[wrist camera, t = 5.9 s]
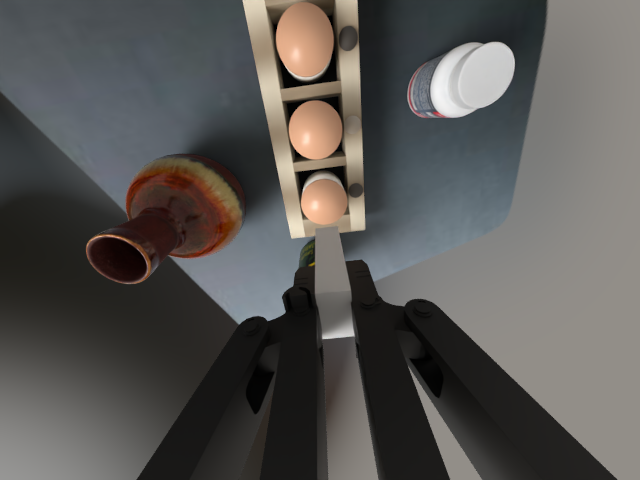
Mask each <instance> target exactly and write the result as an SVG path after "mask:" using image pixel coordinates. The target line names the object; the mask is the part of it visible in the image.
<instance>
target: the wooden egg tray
mask: <svg viewBox="0 0 640 480" xmlns="http://www.w3.org/2000/svg"><path fill="white" fill-rule="evenodd" d="M299 2H309V3H312V4H314V5H316V6H318V7H319V8H320V9H321V10H322V11H323V12H324V13H325V14H326V16H331V15H332V19H333V32H334V46H335V60H336V73H337V81H334V82H328V83H321V84H314V85H307V86H300V87H293V88H287V89H284V84H283V78H282V72H281V66H280V60H279V54H278V49H277V44H276V36H275V30H274V24H278V23H279V21H280V18H281V17H282V15H283V13H284V12H285V11H286V10H287V9H288V8H289V7H290V6H292V5H294V4H296V3H299ZM243 4H244V9H245V14H246V19H247V24H248V29H249V34H250V39H251V43H252V48H253V53H254V58H255V63H256V68H257V73H258V78H259V82H260V87H261V92H262V97H263V102H264V107H265V112H266V117H267V121H268V126H269V131H270V136H271V141H272V146H273V151H274V156H275V161H276V165H277V170H278V175H279V180H280V185H281V190H282V195H283V200H284V204H285V209H286V214H287V219H288V224H289V229H290V234H291V239H292V238H300V237H309V236H315V229H316V228H324V227H333V226H338V230H339V233H343V232H351V231H360V230H365V209H364V179H363V150H362V120H361V91H360V62H359V32H358V3H357V0H243ZM335 96H338V101H339V114H340V119H341V123H342V138H341V142H342V151H341V152H333V153H332V154H331V155H329V156H328V157H326V158H323V159H317V160H314V159H309V158H306V157H304V156H303V157H295V151H294V146H293V145H292V143H291V140H290V136H289V123H290V121H289V115H288V109H287V103H293V102H300V101H307V100H314V99H321V98H328V97H335ZM336 166H343V169H344V183H345V193H346V196H347V208H346V211H345V213H344V214H343V216H342V217H341V218H340V219H339V220H337V221H336V222H334V223H331V224H326V225H322V224H317V223H314V222H312V221H311V220H309V219H308V218H307V217H306V216H305V214H304V213H303V210H302V207H301V198H302V194H301V188H300V181H299V175H298V171H306V170H313V169H321V168H329V167H336Z"/></svg>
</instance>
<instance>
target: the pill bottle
mask: <svg viewBox="0 0 640 480" xmlns="http://www.w3.org/2000/svg"><path fill="white" fill-rule="evenodd" d="M514 68H515V60H514V56H513V53H512V51H511V49H510V48H509V47H508V46H507V45H505V44H503V43H501V42H490V43H487V44H481V43H477V42H472V43H467V44H463V45H461V46H459V47H456V48H454V49H452V50H450V51H449V52H447V53H445V54H443V55H441V56H439V57H437V58H434V59H432V60H430V61H428V62H426V63H424V64H423V65H422V66H420V67H419V68H418V69H417V71H416V72H415V73H414V75H413V76H412V78H411V80H410V83H409V86H408V92H407V98H408V103H409V106H410V108H411V110H412V111H413V112H414V113H415V114H416V115H418V116H420V117H423V118H456V117H462V116H465V115H467V114H470V113H471V112H473V111H475V110H476V109H477V108H482V107H485V106H488V105H490V104H492V103H493V102H495V101H496V100H497V99H498V98H500V97H501V96H502V94H503V93H504V92H505V91H506V89H507V88H508V86H509V84H510V82H511V80H512V77H513V74H514Z"/></svg>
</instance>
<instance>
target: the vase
mask: <svg viewBox="0 0 640 480" xmlns="http://www.w3.org/2000/svg"><path fill="white" fill-rule="evenodd" d="M126 212H127V216H128V219H129V221H128V222H125V223H123V224H121V225H118V226H116V227H114V228H111V229H109V230H106V231H104V232H102V233H100V234H98V235H96V236H94V237H93V238H92V239H91V240H90V241H89V242H88V244H87V246H86V253H87V257H88V259H89V261H90V263H91V264H92V266H93V267H94V268H95V269H96V270H97V271H98V272H99V273H101V274H102V275H104V276H105V277H107V278H109V279H111V280H114V281H116V282H120V283H126V284H134V283H139V282H141V281H143V280H145V279H146V278H148V277H149V275H150V274H151V273H152V272H153V271H154V270H155V269H156V268H157V267H158V266H159V264H160V263H161V262H162V261H163V259H165V257H166V256H167V255H169V256H172V257H177V258H185V259H193V258H202V257H205V256H209V255H212V254H214V253H217V252H219V251H220V250H222V249H223V248H225V247H226V246H228V245H229V244H230V243H231V242H232V241H233V240H234V239H235V237H236V236H237V235H238V233H239V232H240V230H241V227H242V225H243V223H244V219H245V214H246V202H245V196H244V192H243V190H242V188H241V185H240V184H239V182H238V181H237V179H236V178H235V177H234V175H233V174H232V173H231V172H230V171H229V170H228V169H227V168H225V167H224V166H222V165H221V164H220V163H218V162H216V161H214V160H212V159H209V158H206V157H203V156H199V155H194V154H174V155H167V156H164V157H161V158H158V159H155V160H153V161H152V162H150V163H148V164H146V165H145V166H144V167H143V168H142V169H141V170H139V171H138V172H137V174H136V175H135V176H134V178H133V179H132V181H131V183H130V185H129V187H128V190H127V194H126Z"/></svg>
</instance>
